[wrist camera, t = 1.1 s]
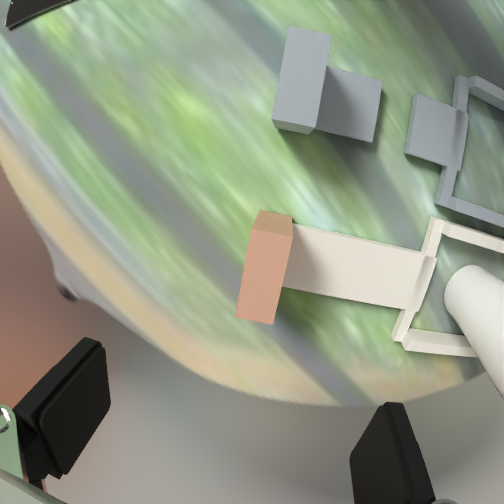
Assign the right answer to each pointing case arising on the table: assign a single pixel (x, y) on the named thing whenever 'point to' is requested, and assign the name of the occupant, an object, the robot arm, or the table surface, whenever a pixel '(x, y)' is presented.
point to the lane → (350, 273)
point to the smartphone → (29, 9)
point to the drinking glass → (480, 316)
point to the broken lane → (366, 109)
